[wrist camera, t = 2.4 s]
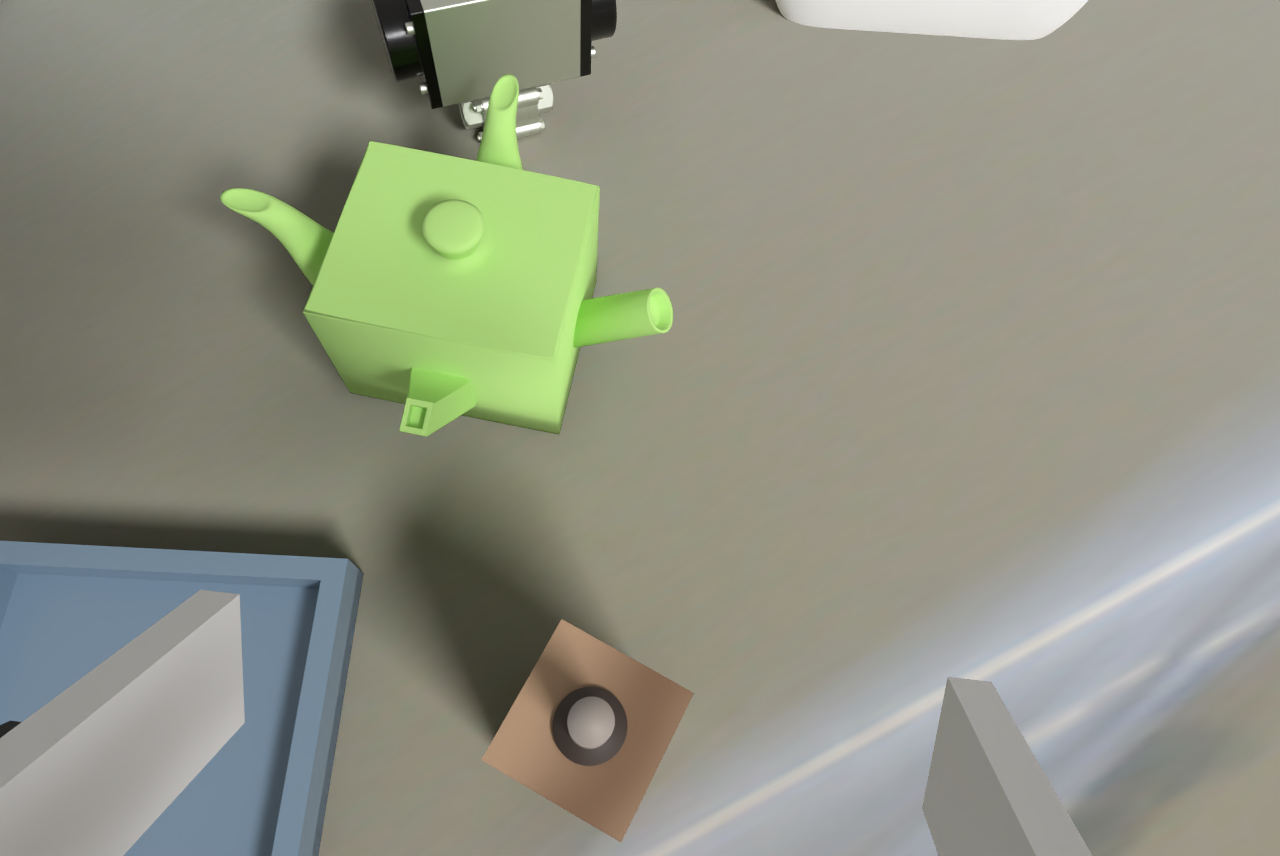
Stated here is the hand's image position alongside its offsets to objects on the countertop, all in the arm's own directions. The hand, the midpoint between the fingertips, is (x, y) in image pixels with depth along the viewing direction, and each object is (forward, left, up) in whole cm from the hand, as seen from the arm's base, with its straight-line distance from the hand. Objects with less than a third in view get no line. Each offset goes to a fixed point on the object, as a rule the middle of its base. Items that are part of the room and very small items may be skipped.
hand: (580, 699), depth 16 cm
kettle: (-7, +20, -25) cm, 33 cm away
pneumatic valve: (-7, +35, -25) cm, 44 cm away
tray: (-19, -1, -25) cm, 31 cm away
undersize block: (0, 0, -25) cm, 25 cm away
